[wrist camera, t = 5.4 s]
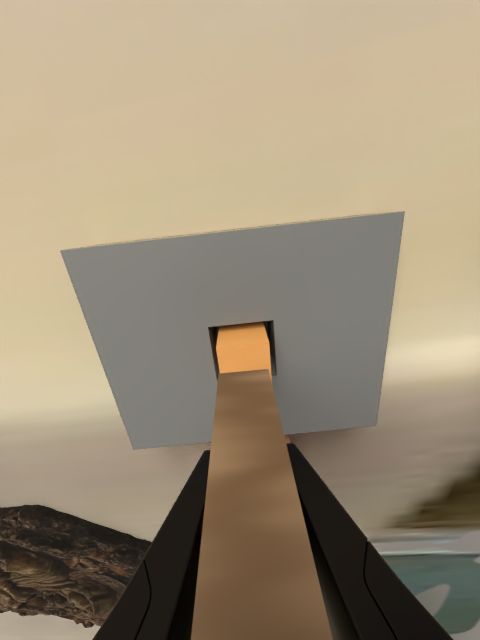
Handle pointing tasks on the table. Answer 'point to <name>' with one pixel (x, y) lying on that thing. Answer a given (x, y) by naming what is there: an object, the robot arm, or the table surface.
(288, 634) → the brown wooden bar
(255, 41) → the table surface
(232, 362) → the button
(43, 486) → the table surface
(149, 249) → the box
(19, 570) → the stone relief
